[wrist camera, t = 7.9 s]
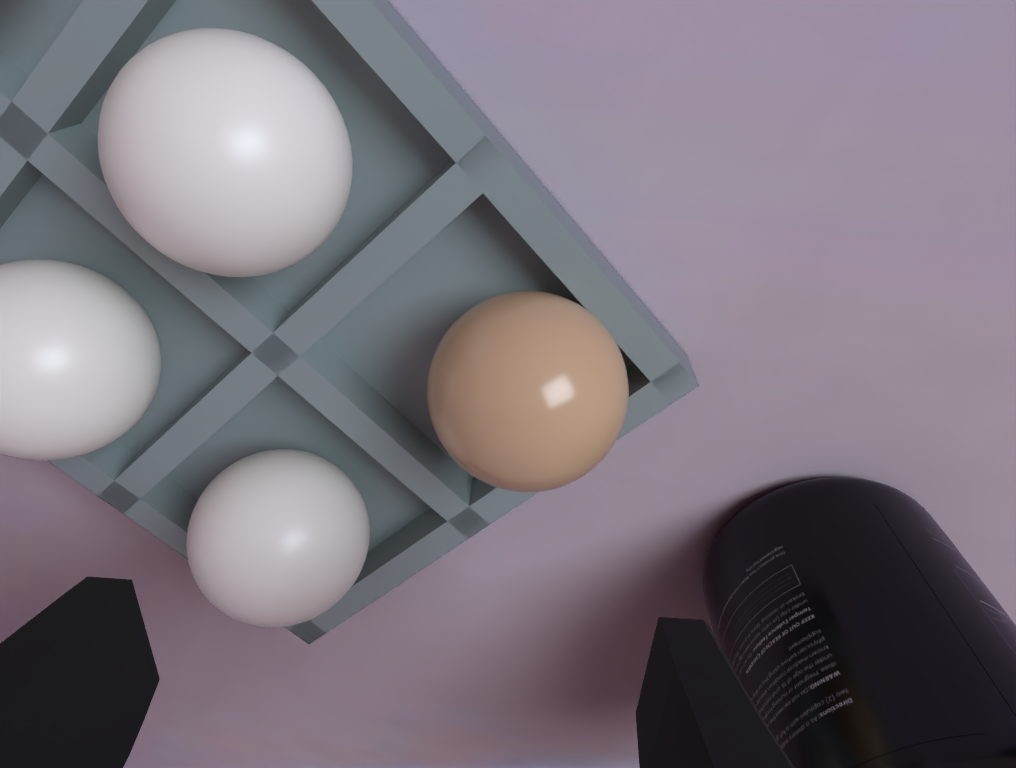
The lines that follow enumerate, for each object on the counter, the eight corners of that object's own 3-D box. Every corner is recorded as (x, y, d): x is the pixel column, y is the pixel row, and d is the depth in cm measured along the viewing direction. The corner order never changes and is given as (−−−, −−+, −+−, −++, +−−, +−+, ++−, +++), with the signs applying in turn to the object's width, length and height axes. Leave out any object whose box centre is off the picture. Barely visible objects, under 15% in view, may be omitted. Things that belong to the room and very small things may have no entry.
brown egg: (474, 454, 19) (570, 559, 15) (356, 375, 16) (445, 487, 12) (582, 327, 19) (701, 407, 15) (484, 224, 16) (607, 295, 12)
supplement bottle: (752, 663, 23) (923, 1210, 13) (659, 528, 21) (784, 1081, 10) (965, 588, 21) (1371, 1164, 11) (895, 427, 19) (1348, 990, 8)
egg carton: (323, 603, 23) (274, 743, 19) (-381, 86, 16) (-720, 123, 11) (686, 353, 18) (731, 467, 14) (-99, -576, 11) (-514, -940, 6)
